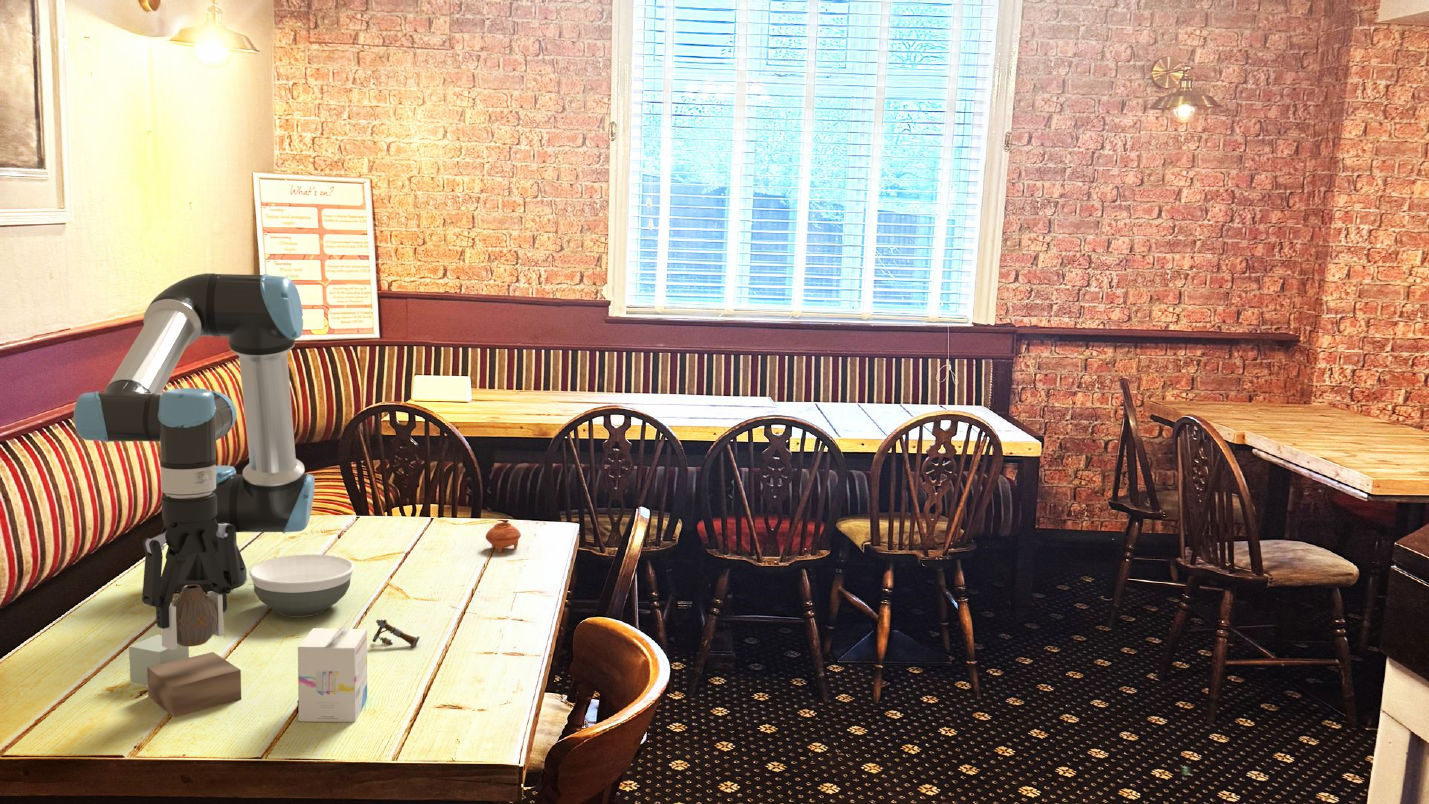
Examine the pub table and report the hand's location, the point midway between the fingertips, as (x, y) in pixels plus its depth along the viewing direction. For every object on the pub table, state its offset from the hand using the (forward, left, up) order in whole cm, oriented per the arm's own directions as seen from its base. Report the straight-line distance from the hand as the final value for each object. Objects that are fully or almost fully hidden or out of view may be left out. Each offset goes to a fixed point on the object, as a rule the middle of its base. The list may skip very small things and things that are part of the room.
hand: (193, 640), depth 174 cm
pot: (-23, +91, -10) cm, 94 cm away
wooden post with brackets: (+6, +34, -10) cm, 36 cm away
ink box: (+20, +10, -10) cm, 24 cm away
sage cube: (-11, +1, -9) cm, 15 cm away
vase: (0, 0, -1) cm, 1 cm away
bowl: (-22, +36, -10) cm, 43 cm away
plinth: (0, 0, -10) cm, 10 cm away
